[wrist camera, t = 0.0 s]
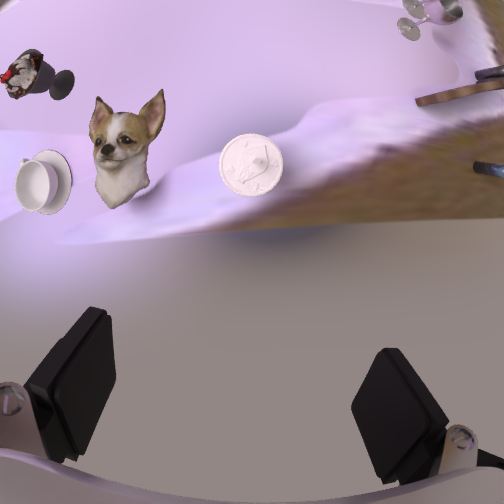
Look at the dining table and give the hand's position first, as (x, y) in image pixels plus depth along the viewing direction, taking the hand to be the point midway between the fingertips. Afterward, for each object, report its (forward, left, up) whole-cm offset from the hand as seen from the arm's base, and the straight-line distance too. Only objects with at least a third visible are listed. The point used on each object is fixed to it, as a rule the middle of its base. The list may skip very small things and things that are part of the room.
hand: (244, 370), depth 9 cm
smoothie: (-6, 0, -31) cm, 32 cm away
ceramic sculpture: (-6, -16, -32) cm, 36 cm away
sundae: (-15, -30, -31) cm, 46 cm away
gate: (-26, +30, -31) cm, 50 cm away
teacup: (0, -30, -32) cm, 44 cm away
